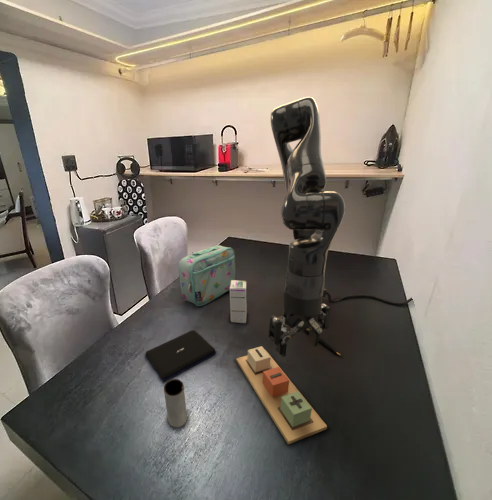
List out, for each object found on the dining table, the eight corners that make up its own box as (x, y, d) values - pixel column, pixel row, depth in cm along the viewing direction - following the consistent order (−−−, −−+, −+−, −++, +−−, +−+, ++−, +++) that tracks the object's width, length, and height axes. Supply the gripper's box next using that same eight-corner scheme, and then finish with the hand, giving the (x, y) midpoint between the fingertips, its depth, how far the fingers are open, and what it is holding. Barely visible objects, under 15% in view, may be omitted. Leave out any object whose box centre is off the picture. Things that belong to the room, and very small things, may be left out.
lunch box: (194, 313, 102) (191, 263, 94) (178, 303, 109) (173, 256, 101) (238, 287, 118) (238, 243, 110) (221, 280, 125) (220, 238, 117)
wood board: (265, 352, 81) (265, 349, 80) (326, 429, 58) (327, 425, 58) (235, 360, 78) (235, 357, 78) (288, 444, 56) (288, 441, 56)
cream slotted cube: (261, 356, 78) (261, 345, 76) (269, 368, 74) (270, 356, 72) (247, 360, 77) (247, 349, 75) (255, 372, 72) (255, 360, 71)
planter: (167, 410, 65) (163, 379, 61) (186, 408, 65) (183, 377, 61) (168, 429, 61) (163, 397, 57) (187, 426, 61) (184, 394, 57)
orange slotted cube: (277, 377, 71) (278, 366, 69) (288, 391, 67) (289, 379, 65) (262, 382, 70) (263, 370, 68) (272, 397, 65) (273, 384, 64)
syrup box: (246, 323, 94) (247, 288, 89) (229, 322, 95) (229, 287, 90) (246, 314, 99) (247, 280, 94) (230, 313, 101) (230, 279, 95)
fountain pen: (342, 357, 77) (343, 353, 77) (339, 358, 77) (340, 354, 76) (304, 329, 89) (304, 325, 89) (301, 330, 89) (302, 326, 89)
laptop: (143, 348, 86) (142, 343, 85) (198, 330, 93) (198, 325, 92) (156, 385, 72) (156, 380, 71) (220, 360, 79) (220, 355, 78)
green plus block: (296, 403, 63) (298, 390, 62) (309, 420, 59) (311, 407, 58) (280, 408, 62) (281, 396, 61) (292, 427, 58) (294, 414, 57)
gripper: (285, 305, 50) (280, 370, 56) (345, 289, 53) (335, 351, 59) (263, 287, 56) (261, 346, 62) (318, 273, 60) (311, 331, 66)
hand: (297, 348), depth 61 cm, fingers open, 8 cm apart
